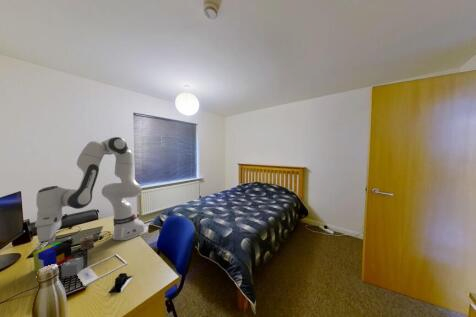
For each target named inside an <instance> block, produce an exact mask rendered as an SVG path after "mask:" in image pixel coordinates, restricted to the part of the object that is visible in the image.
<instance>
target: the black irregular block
mask: <svg viewBox="0 0 476 317" xmlns="http://www.w3.org/2000/svg"><path fill="white" fill-rule="evenodd" d="M133 277H134V276H133V275H128V274H127V273H126V272H125V273H123V272H122V273H119V274H118V276H116V277H115V279H114V285H113V286H112V287H111V289H110V290H109V291H108V294H118V293H119V294H120V293H122V291H123V290H125V289H126V286H128V284H129V283H130V281H131V280H132V279H133Z"/></svg>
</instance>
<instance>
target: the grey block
mask: <svg viewBox="0 0 476 317" xmlns="http://www.w3.org/2000/svg"><path fill="white" fill-rule="evenodd" d="M84 266H85V264H84V256H81V257H76V258H72V259H69V260H68V261H67V262H66V263H65V264H64V265H63V266H61V267H60V269H61V270H60V271H61V278H62V277H65V276H72V277H74V276H73V275H77V274H78V273H79V272H80V271H81V270H82V269H84V268H85V267H84ZM83 267H84V268H83Z"/></svg>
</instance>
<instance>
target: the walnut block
mask: <svg viewBox="0 0 476 317" xmlns="http://www.w3.org/2000/svg"><path fill="white" fill-rule="evenodd" d="M79 241H80V251H81V250H83V249H86V250H88V249H92V248H95V244H94V235H93V234H90V235H87V236H84V237H80V240H79ZM83 251H84V250H83Z"/></svg>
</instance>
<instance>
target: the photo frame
mask: <svg viewBox="0 0 476 317" xmlns="http://www.w3.org/2000/svg"><path fill="white" fill-rule="evenodd" d="M114 256H116V257H117V258H119V259H120V260H121V261H122V262H123V264H122V265H120V266H117V267H115V268H114V269H112V270H110V271H108V272H106V273H104V274H102V275H100V276H98V275H97V274H96V273H95V271H94V270H93V269H92V267H94V266H96V265H99V264H101V263H102V262H105V261H107V260H109V259H112V258H114ZM126 265H128V262H127V261H126V260H124V259H123V258H122V257H121V256H120V255H118V254H117V253H115V254H113V255H110V256H109V257H106V258H105V259H102V260H99V261H98V262H95V263H94V264H91V265H89V266H87V267H84V268H83V269H82V270H81V271H80V272H79V273H78V274H77V276H78V277H77V276H76V277H77V278H78V280H79V279H80V280H79V281H80V283H81V282H82V283H81V284H82V286H83V287H84V286H85V287H86V286H89V285H90V284H92V283H94V282H96V281H98V280H99V279H102V278H103V277H105V276H107V275H109V274H111V273H113V272H115V271H116V270H117V271H118V270H119V269H121V268H123V267H124V266H126Z"/></svg>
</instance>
